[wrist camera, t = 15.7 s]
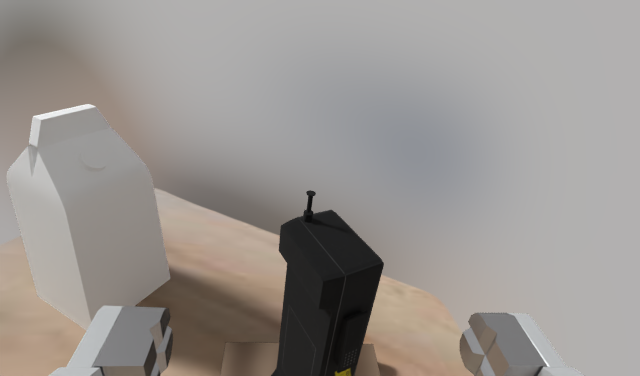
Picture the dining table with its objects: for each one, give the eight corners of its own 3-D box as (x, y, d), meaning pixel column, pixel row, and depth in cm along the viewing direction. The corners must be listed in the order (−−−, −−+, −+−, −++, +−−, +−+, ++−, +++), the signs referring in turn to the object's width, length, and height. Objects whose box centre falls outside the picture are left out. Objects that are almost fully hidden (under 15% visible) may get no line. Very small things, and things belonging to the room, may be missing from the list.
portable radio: (353, 437, 36) (418, 238, 24) (299, 470, 33) (340, 262, 21) (314, 370, 42) (350, 180, 29) (265, 393, 39) (281, 193, 26)
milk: (117, 248, 59) (85, 88, 46) (170, 278, 55) (151, 111, 42) (37, 296, 49) (-33, 110, 36) (94, 336, 45) (39, 143, 32)
